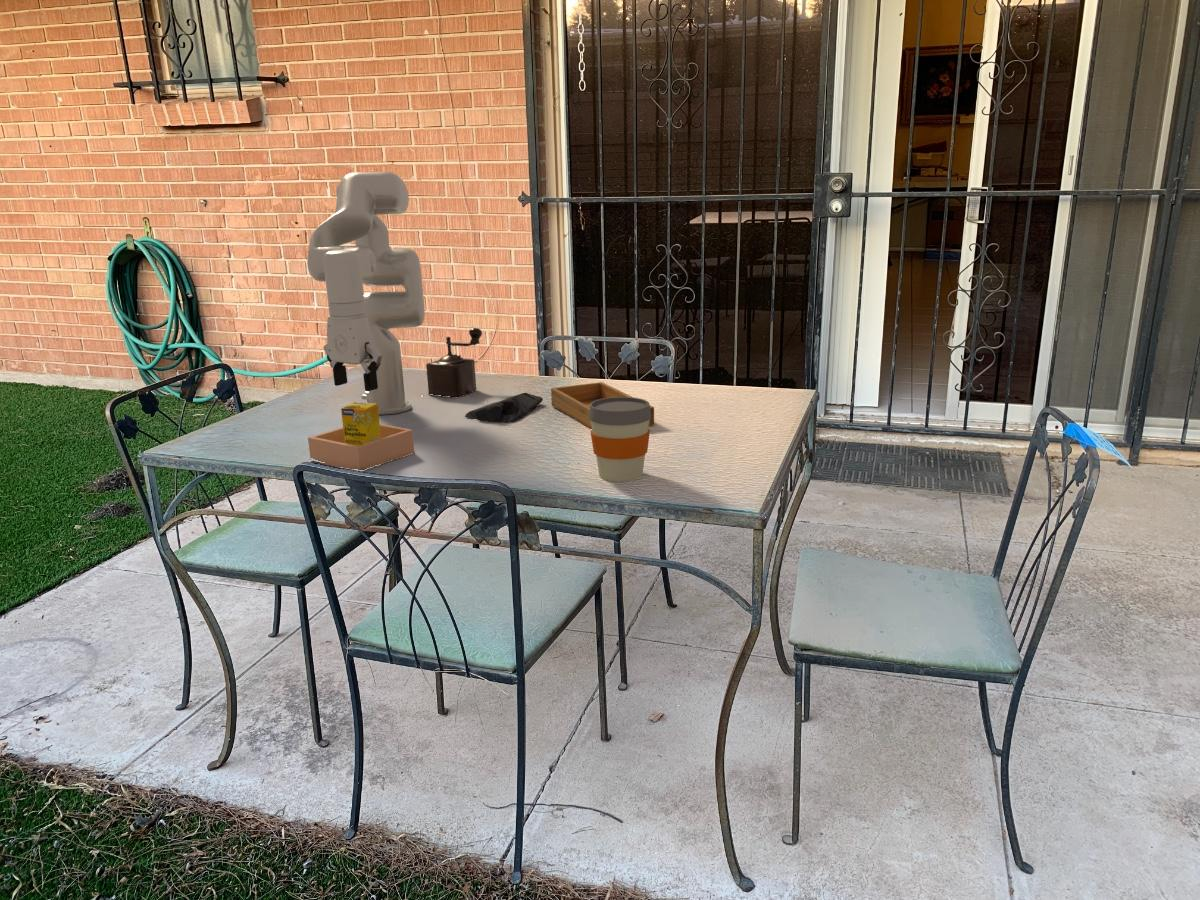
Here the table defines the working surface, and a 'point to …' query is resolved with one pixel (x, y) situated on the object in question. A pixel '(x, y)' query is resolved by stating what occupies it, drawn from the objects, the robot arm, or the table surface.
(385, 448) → the planter box
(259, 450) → the table surface
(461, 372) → the manual coffee grinder
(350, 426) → the supplement box
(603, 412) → the reusable coffee cup
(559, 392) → the tray
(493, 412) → the dark slate chunk
